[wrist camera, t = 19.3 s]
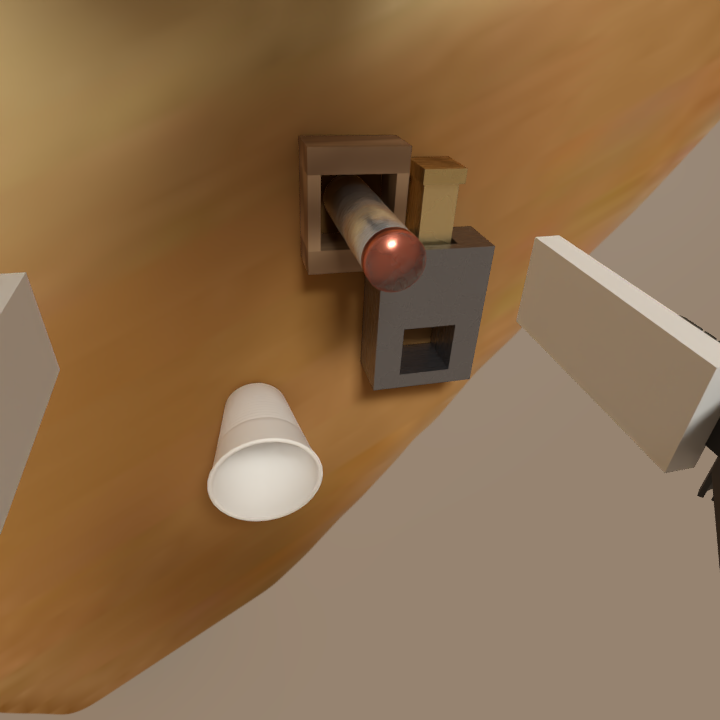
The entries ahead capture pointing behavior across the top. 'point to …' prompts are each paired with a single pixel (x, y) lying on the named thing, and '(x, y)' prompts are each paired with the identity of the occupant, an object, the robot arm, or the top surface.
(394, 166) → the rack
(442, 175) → the tan square peg
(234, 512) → the cup
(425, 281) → the socket block
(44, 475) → the top surface
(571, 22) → the top surface
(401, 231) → the cylinder
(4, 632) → the top surface
